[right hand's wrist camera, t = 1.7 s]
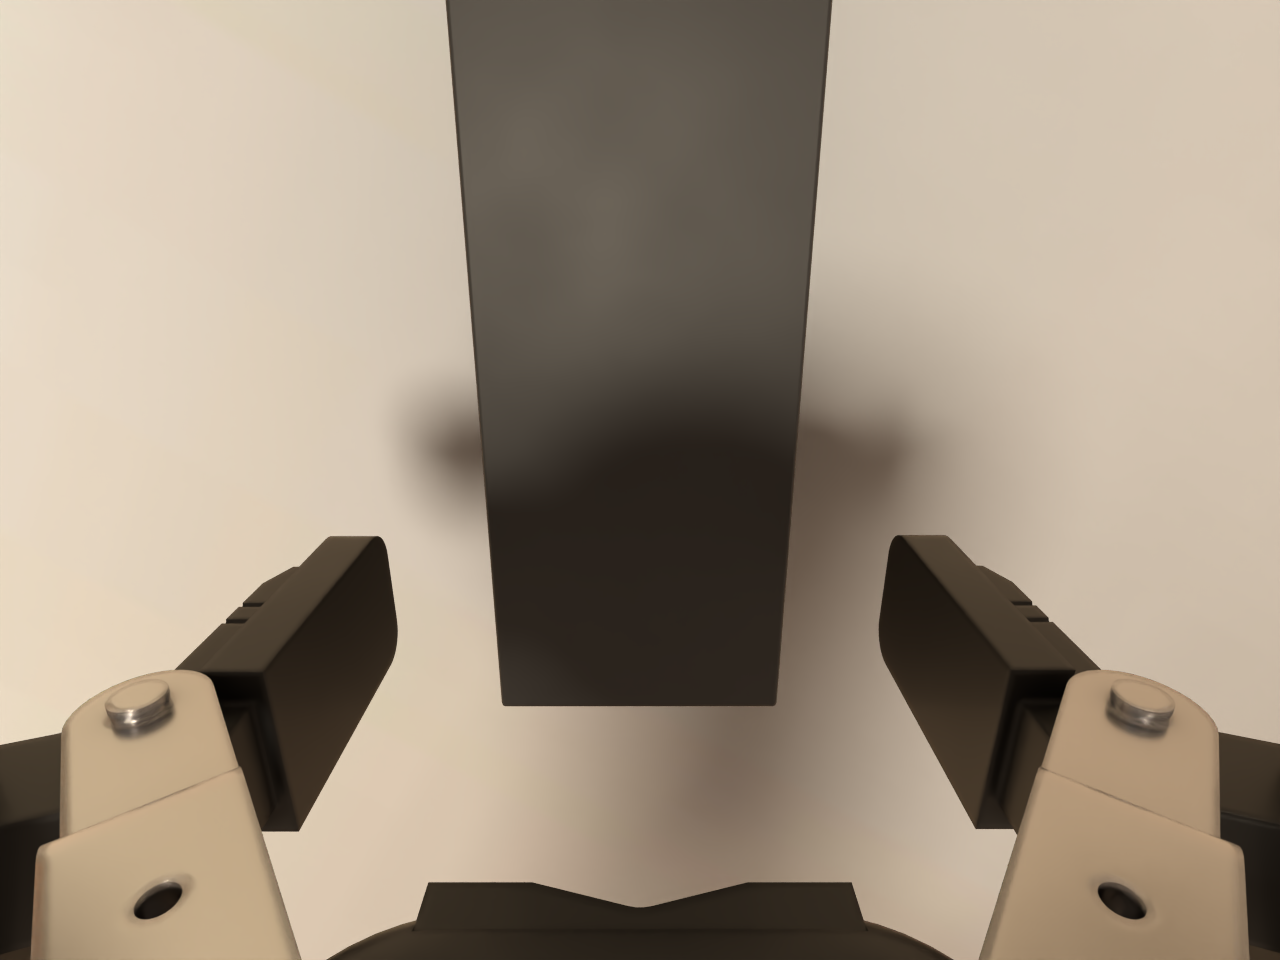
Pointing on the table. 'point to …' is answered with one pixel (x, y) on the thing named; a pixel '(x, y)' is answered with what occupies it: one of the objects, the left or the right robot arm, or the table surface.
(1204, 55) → the table surface
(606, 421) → the bar
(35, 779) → the right robot arm
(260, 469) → the table surface
